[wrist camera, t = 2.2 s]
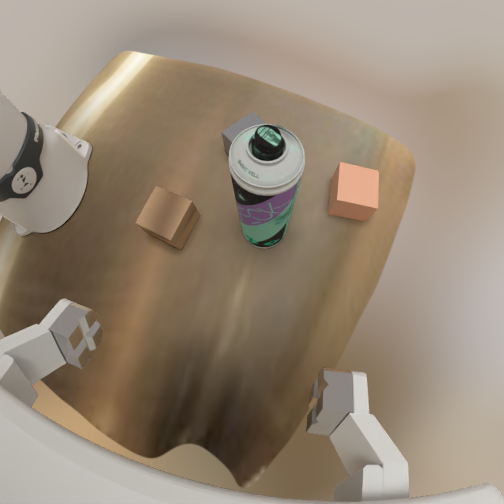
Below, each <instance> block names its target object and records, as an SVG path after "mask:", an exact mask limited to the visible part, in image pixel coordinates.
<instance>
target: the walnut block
mask: <svg viewBox="0 0 504 504" xmlns="http://www.w3.org/2000/svg"><path fill="white" fill-rule="evenodd" d="M199 216H200V214H199V213H198V211H197V209H196V207H195V205H194V204H193V202H192V201H191V200H189V199H186V198H184V197H182V196H179V195H177V194H174V193H172V192H170V191H167V190H165V189H163V188H160V187H158V186H156V187H155V189H154V190H153V192H152V194H151V196H150V197H149V199H148V201H147V203H146V204H145V206H144V208H143V210H142V212H141V213H140V215H139V217H138V219H137V221H136V224H137V225H138V226H140V227H141V228H142V229H143V230H145V231H146V232H147V233H148V234H150V235H152V236H154V237H156V238H158V239H160V240H162V241H164V242H166V243H168V244H170V245H172V246H174V247H176V248H178V249H180V250H182V249H183V247H184V245H185V243H186V241H187V239H188V237H189V235H190V234H191V232H192V230H193V228H194V226H195V224H196V222H197V220H198V218H199Z"/></svg>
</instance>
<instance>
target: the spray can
mask: <svg viewBox="0 0 504 504" xmlns="http://www.w3.org/2000/svg"><path fill="white" fill-rule="evenodd" d="M304 158H305V155H304V149H303V146H302V144H301V142H300V141H299V139H298V138H297V137H296V136H295V135H294V134H293V133H292V132H290V131H289V130H287V129H285V128H283V127H280V126H277V125H272V124H260V125H255V126H252V127H249V128H247V129H245V130H244V131H242V132H241V133H240V134H238V135H237V137H236V138H235V139H234V140H233V142H232V144H231V147H230V151H229V168H230V173H231V178H232V183H233V188H234V193H235V198H236V203H237V207H238V212H239V217H240V222H241V227H242V232H243V235H244V237H245V238H246V240H247V241H248V242H249V243H250V244H251V245H253V246H255V247H258V248H271V247H274V246H276V245H277V244H279V243H280V242H281V241H282V239H283V238H284V236H285V233H286V230H287V227H288V223H289V220H290V216H291V213H292V209H293V206H294V202H295V199H296V195H297V192H298V188H299V185H300V181H301V177H302V174H303V170H304V164H305V160H304Z"/></svg>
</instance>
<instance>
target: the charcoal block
mask: <svg viewBox="0 0 504 504" xmlns="http://www.w3.org/2000/svg"><path fill="white" fill-rule="evenodd" d="M260 124H266V123H265V122H264V121H263V120H262V119H261V118H259V117H258V116H257V115H256V114H255V113H254V112H252V113H250V114H249V115H247V116H245V117H244V118H242V119H241V120H239V121H238V122H236V123H235V124H233V125H232V126H230V127H229V128H227V129H226V130H224V131H223V132H222V137H223V142H224V147H225V152H226V153H227V154H228V155H229V151H230V147H231V144H232V142H233V140H234V139H235V138H236V137H237V135H238V134H240V133H241V132H242V131H244V130H245V129H247V128H249V127H252V126H255V125H260Z"/></svg>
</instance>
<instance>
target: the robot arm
mask: <svg viewBox="0 0 504 504" xmlns="http://www.w3.org/2000/svg"><path fill="white" fill-rule="evenodd" d="M80 147H81V148H80ZM91 151H92V146H91V145H90V144H89V143H88V142H86V141H84V140H82V139H80V138H77V137H75V136H73V135H71V134H69V133H67V132H65V131H62V130H60V129H58V128H56V127H54V126H51V125H49V124H45V125H40V124H37V122H36V121H35V120H34V119H33V118H32V117H30V116H29V115H27V114H26V113H24V112H20V111H19V110H18V109H17V108H16V107H15V106H14V105H13V104H12V103H11V102H10V101H9V100H8V99H7V98H6V97H5V96H4V95H3V94H2V93H1V92H0V215H1V216H3V217H4V218H6V219H7V220H9V221H11V222H13V223H14V227H15V230H16V232H17V234H19V235H20V236H25V235H28V234H30V233H32V232H39V233H45V232H50V231H52V230H55V229H56V228H58V227H60V226H61V225H62V224H63V223H65V222H66V221H67V220H68V219H69V218H70V216H71V215H72V214H73V213H74V211H75V210H76V208H77V207H78V205H79V203H80V201H81V199H82V197H83V194H84V191H85V188H86V184H87V176H88V172H87V164H88V160H89V157H90V154H91ZM97 318H98V316H97V313H96V311H95V310H92V309H90V308H87V307H84V306H82V305H79V304H77V303H75V302H72V301H70V300H67V299H61V300H60V301H59V302H58V303H57V304H56V305H55V306H54V308H53V309H52V310H51V311H50V312H49V313H48V315H47V316H46V317H45V318H44V319H43V320H42V322H41V323H40V324H39V325H38V324H35V325H32V326H30V327H28V328H26V329H23V330H21V331H19V332H16V333H14V334H12V335H9V336H7V337H5V338H3V339H1V340H0V504H504V497H503V495H502V494H501V493H500V492H499V490H498V489H497V488H496V487H495V486H494V485H493V484H491V483H483V484H479V485H475V486H471V487H467V488H463V489H459V490H454V491H449V492H444V493H439V494H433V495H427V496H420V497H412V498H409V478H408V463H407V461H406V460H405V459H404V457H403V456H402V454H401V453H400V451H399V450H398V449H397V447H396V446H395V444H394V443H393V442H392V440H391V439H390V437H389V436H388V435H387V433H386V432H385V430H384V429H383V428H382V426H381V425H380V424H379V422H378V421H377V419H376V418H375V416H374V415H371V414H369V402H368V389H367V388H368V387H367V376H366V374H365V373H362V372H353V371H348V370H340V369H332V368H325V367H322V368H321V369H320V371H319V373H318V379H317V380H315V381H314V383H313V385H312V388H311V392H310V397H309V406H310V408H311V411H310V413H309V415H308V417H307V429H306V432H307V433H313V434H321V435H329V436H330V439H331V441H332V443H333V445H334V447H335V449H336V451H337V453H338V455H339V457H340V459H341V461H342V463H343V465H344V466H345V469H346V471H347V472H348V474H349V476H350V477H348V478H347V479H346V480H344V481H342V482H341V483H339V484H338V485H336V486H335V492H334V501H312V500H298V499H288V498H279V497H271V496H264V495H257V494H252V493H246V492H240V491H235V490H230V489H226V488H221V487H217V486H213V485H208V484H205V483H201V482H197V481H193V480H190V479H186V478H183V477H179V476H176V475H173V474H170V473H167V472H164V471H161V470H158V469H155V468H152V467H150V466H147V465H144V464H141V463H139V462H136V461H134V460H131V459H129V458H127V457H124V456H122V455H119V454H117V453H115V452H112V451H110V450H108V449H106V448H104V447H101V446H99V445H97V444H95V443H93V442H91V441H89V440H87V439H85V438H83V437H81V436H79V435H77V434H76V433H74V432H72V431H70V430H68V429H66V428H65V427H63V426H61V425H59V424H58V423H56V422H54V421H52V420H51V419H49V418H48V417H46V416H44V415H43V414H41V413H39V412H38V411H36V410H35V409H33V408H32V405H33V403H34V402H35V400H36V398H37V397H38V394H37V392H36V391H35V389H34V388H33V386H32V384H34V383H35V382H37V381H38V380H40V379H42V378H43V377H45V376H46V375H48V374H50V373H51V372H53V371H54V370H56V369H57V368H59V367H61V366H62V365H64V364H65V363H66V362H67V363H70V364H72V365H74V366H76V367H79V368H81V369H83V368H84V367H85V365H86V364H87V362H88V361H89V359H90V357H91V352H90V351H92V350H94V349H96V348H97V347H98V345H99V343H100V341H101V337H102V329H101V326H100V324H99V323H98V322H97V321H96V320H97Z"/></svg>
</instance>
